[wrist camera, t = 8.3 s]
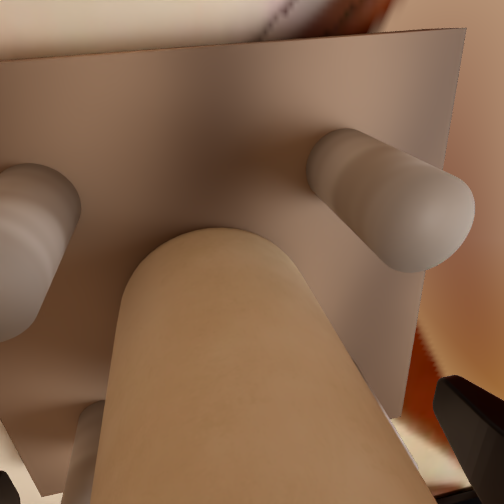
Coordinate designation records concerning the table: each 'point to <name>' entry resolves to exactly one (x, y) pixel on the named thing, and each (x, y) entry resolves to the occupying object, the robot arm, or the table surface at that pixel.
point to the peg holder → (215, 204)
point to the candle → (239, 389)
